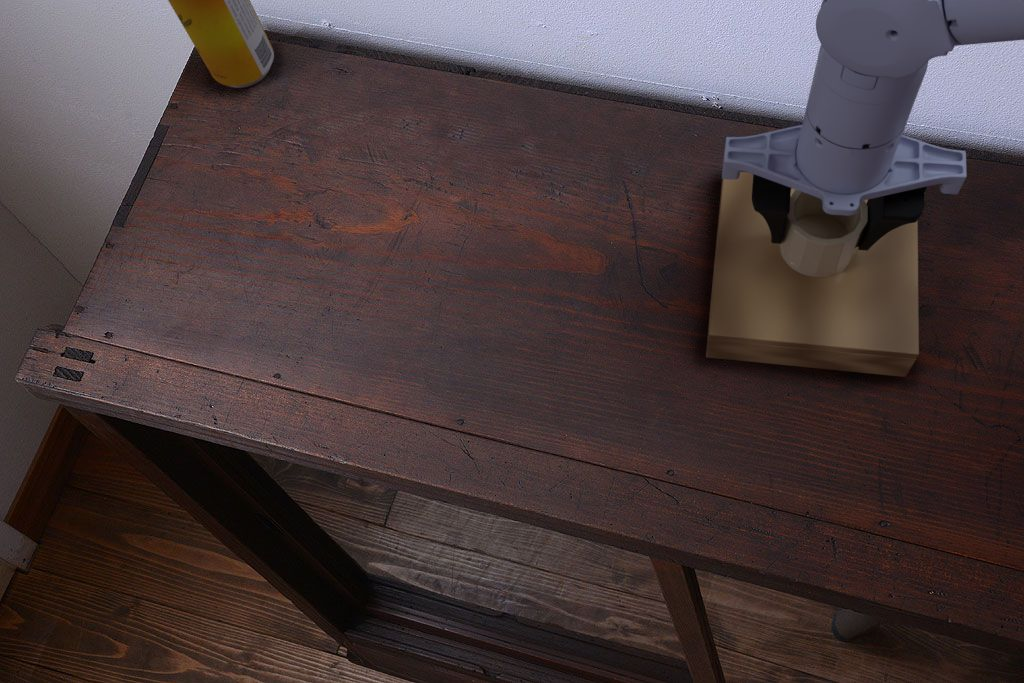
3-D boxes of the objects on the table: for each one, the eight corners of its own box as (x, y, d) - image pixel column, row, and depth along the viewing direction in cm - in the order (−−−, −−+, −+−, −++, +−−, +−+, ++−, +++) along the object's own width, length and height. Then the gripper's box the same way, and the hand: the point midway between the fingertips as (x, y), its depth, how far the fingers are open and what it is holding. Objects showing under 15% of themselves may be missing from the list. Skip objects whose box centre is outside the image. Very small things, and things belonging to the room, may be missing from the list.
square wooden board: (905, 190, 76) (917, 161, 72) (905, 377, 69) (919, 354, 66) (722, 178, 78) (725, 149, 75) (705, 357, 71) (708, 334, 68)
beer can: (223, 40, 92) (152, -93, 78) (284, 42, 91) (222, -92, 77) (205, 90, 89) (127, -38, 76) (267, 94, 88) (199, -36, 75)
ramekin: (855, 217, 71) (868, 180, 67) (854, 281, 69) (867, 248, 65) (780, 211, 72) (789, 175, 68) (777, 275, 69) (785, 241, 65)
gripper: (725, 158, 56) (710, 274, 69) (992, 174, 54) (928, 293, 66) (734, 64, 59) (718, 191, 71) (987, 75, 57) (926, 206, 69)
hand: (819, 234), depth 69 cm, fingers closed on ramekin, 5 cm apart
